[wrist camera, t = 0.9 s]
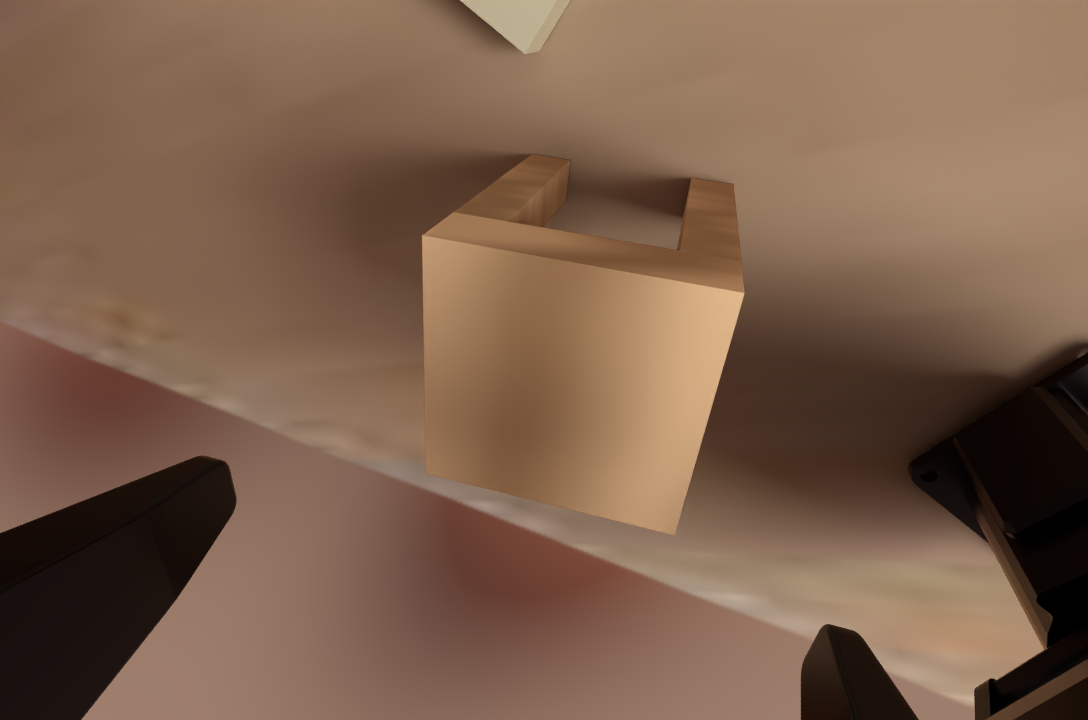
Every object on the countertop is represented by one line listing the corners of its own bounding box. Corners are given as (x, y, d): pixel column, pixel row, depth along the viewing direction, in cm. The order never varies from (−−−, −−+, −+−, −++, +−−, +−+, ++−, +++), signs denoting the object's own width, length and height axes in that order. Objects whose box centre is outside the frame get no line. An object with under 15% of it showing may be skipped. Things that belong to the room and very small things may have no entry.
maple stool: (733, 184, 17) (744, 293, 10) (688, 362, 20) (674, 535, 13) (531, 153, 18) (421, 235, 11) (518, 328, 21) (426, 473, 14)
